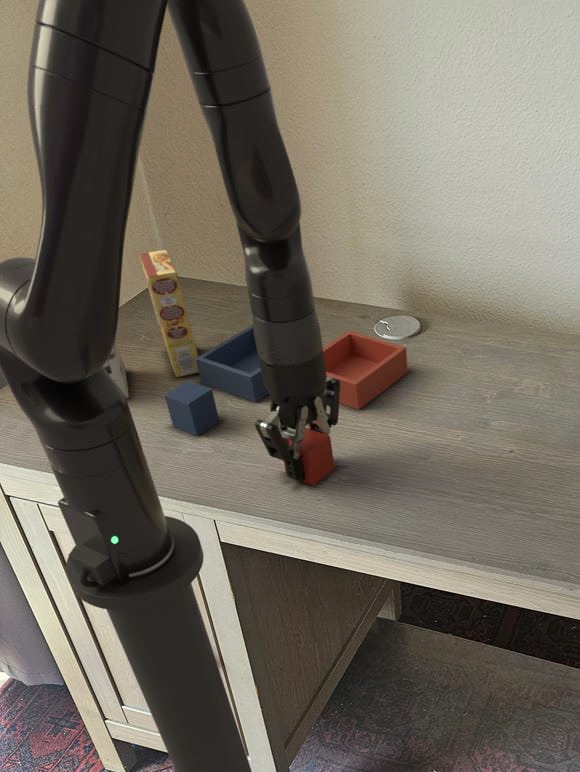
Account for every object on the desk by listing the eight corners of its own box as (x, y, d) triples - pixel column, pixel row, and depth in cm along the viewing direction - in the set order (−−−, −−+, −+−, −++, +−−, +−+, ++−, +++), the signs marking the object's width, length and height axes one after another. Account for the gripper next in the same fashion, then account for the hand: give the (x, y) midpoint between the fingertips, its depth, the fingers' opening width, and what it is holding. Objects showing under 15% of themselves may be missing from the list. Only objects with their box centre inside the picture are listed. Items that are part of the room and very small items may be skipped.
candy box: (203, 373, 130) (178, 271, 119) (175, 378, 129) (147, 276, 118) (192, 347, 136) (167, 248, 125) (165, 352, 135) (137, 253, 124)
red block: (313, 486, 110) (308, 453, 107) (286, 475, 112) (279, 442, 108) (335, 468, 113) (330, 435, 109) (308, 458, 115) (302, 426, 111)
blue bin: (255, 402, 125) (250, 377, 122) (201, 383, 128) (195, 358, 125) (310, 365, 132) (306, 340, 129) (257, 348, 136) (252, 324, 133)
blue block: (197, 436, 118) (188, 403, 115) (173, 427, 120) (163, 394, 116) (219, 421, 121) (211, 389, 117) (196, 412, 123) (187, 380, 119)
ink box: (93, 375, 130) (66, 299, 121) (127, 370, 131) (103, 294, 122) (93, 404, 124) (65, 326, 116) (129, 399, 125) (104, 321, 117)
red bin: (358, 409, 123) (356, 384, 120) (300, 390, 127) (296, 365, 124) (407, 372, 131) (406, 347, 128) (351, 354, 135) (348, 330, 132)
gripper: (303, 314, 106) (321, 435, 118) (223, 364, 97) (251, 488, 109) (352, 329, 103) (365, 451, 115) (274, 381, 94) (297, 507, 107)
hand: (310, 468), depth 112 cm, fingers closed on red block, 4 cm apart
